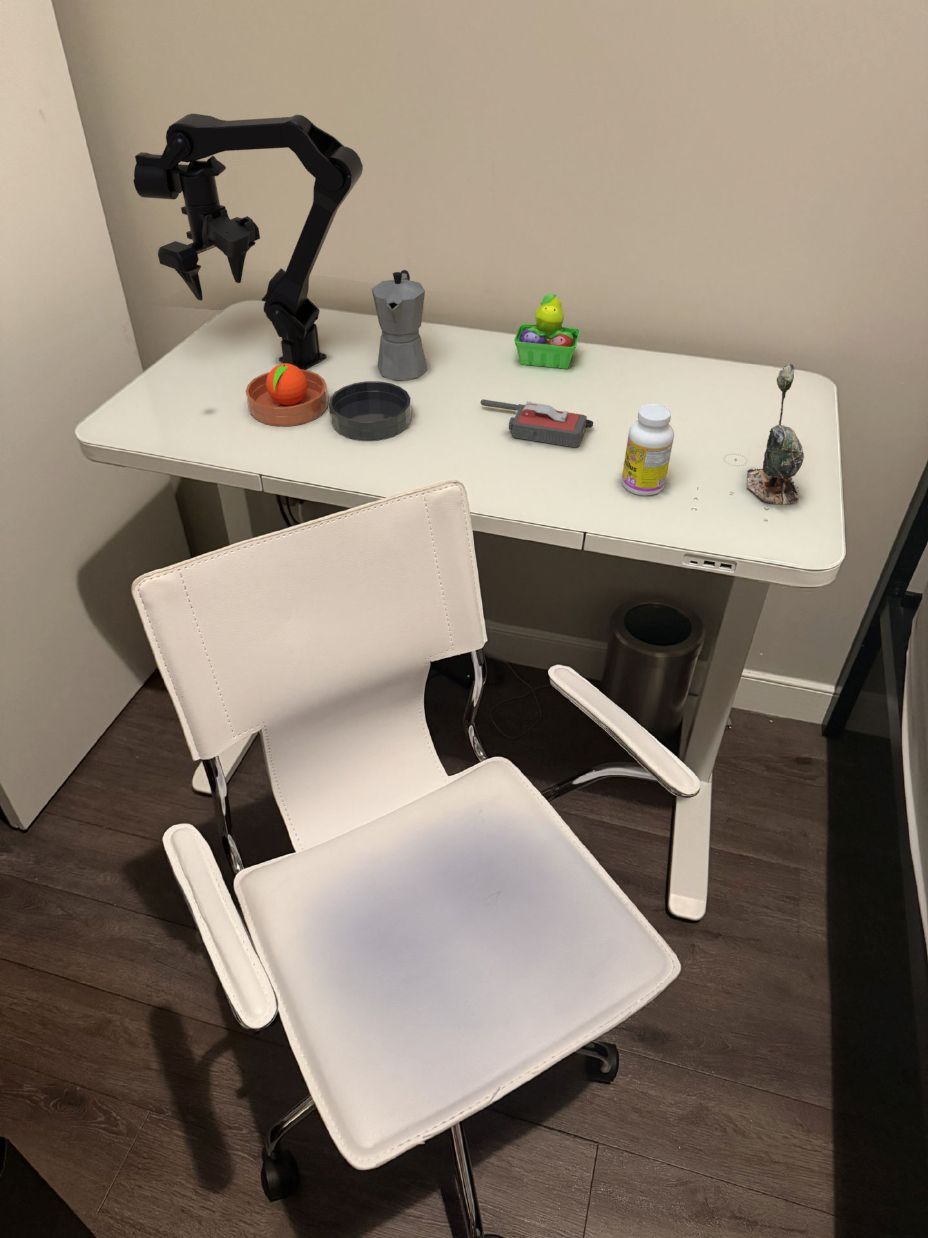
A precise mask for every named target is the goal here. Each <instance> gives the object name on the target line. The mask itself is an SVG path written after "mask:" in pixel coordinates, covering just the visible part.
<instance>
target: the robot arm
mask: <svg viewBox="0 0 928 1238" xmlns="http://www.w3.org/2000/svg"><path fill="white" fill-rule="evenodd" d="M165 134H166V135H165V140H166V141H165V143H166V144H165V147H164V150H163V152H162V154H156V153H155V154H154V153H149V152H142V151H140V152H139V153H137V154H136V155H134V160H135V166H134V170H133V185H134V188H135V191H136V193H137V195H139V196H140V197H141V198H145V199H158V200H159V199H160V200H176V199H178V197H179V195H180V194H182V196H183V197H182V198H183V201H184V205H183V206H181V207H180V210H181V214H182V215H186V216H187V220H188V221H187V222H188V225H189V230H188V231H186V232H185V235H186V239H189V240H191V241H192V242H191V243H189V244H186V243H183V242H180V241H177V240H175V241H172V242H169V243H166V244H165V245H164V244H163V245H161V246H159V248H158V250H157V256H158V260H159V265H162V266H165V267H167V268H170V269H174V271H175V272H176V273H177V274H178V275H179V277H181V278H182V280H183V281H184V283H185V284H186V286H187V287H188V288H189V290H190V292H192V294H193V296H194V297H195V298H196V300H198V301H203V299H204V298H203V289H202V285H201V281H200V275H199V272H200V270H201V268H202V265H200V264H198V262H199V260H200V259H199V255H200V254H202V253H204V252H207V251H209V250H211V249H212V250H213V249H214V248H217V249H218V250H219V251H221V253H223V255H224V256H225V257H226V258H227V262H228V265H229V268H230V271H231V275H232V277H233V279H234V282H235V283H237V284H241V283H242V278H243V272H244V266H245V261H246V257H247V253H248V252H249V250H250V249H251V248H252V247H254V246H255V245H256V242H257V241H258V240H260V239H261V233H260V228H259V226H258V225H257V223H256V222H255V221H254V220H253V219H252V218H251V217H250V216H248V215H247V216H243V217H240V216H239V217H238V216H235V217H233V218H230V216H229V213H228V209H227V207H226V205H222V204H221V203H220V197H219V192H218V186H217V180H216V177H219V176H220V175H221V174H222V173H223V172H224V171H226V169H227V166H226V165H225V164H224V163H223V162H221V161H219V160H218V159H217V158H216V156H214V155H216V154H221V153H223V152H231V151H233V152H234V151H251V150H269V149H286V148H287V149H289V150H290V151H291V152H293V153H294V154H295V155H296V158H298V160H299V161H300V163H301V164H302V166H303V167H304V169H305V170H306V171H307V172H308V173H309V174H310V175H311V176H312V177H313V178H314V183H313V191H312V193H313V194H312V195H313V198H312V204H311V206H310V207H311V208H310V210H309V212H308V215H307V217H306V220H305V222H304V225H303V227H302V230H301V232H300V234H299V237H298V238H297V239H298V240H297V242H296V245H295V247H294V249H293V252H292V255H291V257H290V260H289V262H288V264H287V267H286V269H283V268H279V270H278V271H277V272H276V273H275V274H274V275H273V276H272V278H270V280H269V282H268V283H267V284H268V285H267V290H266V293H265V295H264V296H263V297H262V298H261V302H264V303H263V313H265V316H266V318H267V319H268V320H269V322H271V324H272V326H273V328H274V330H275V332H276V334H277V336H278V337H279V338H281V341H280V346H281V353H282V355H281V356H280V357H279V358H278V361H279V362H281V363H282V364H283V363H288V364H292V365H294V366H296V367H298V368H299V369H302V370H308V369H309V368H310V367H312V366H314V365H316V364H318V363H320V362H321V361H323V360H325V359H326V358H327V354H326V353H323V352H321V349H320V343H319V342H320V341H319V334H318V326H317V323H315V322H316V321H318V319H319V317H320V316H319V315H320V311H321V310H320V308H319V307H318V306H317V305H316V304H315V303H314V302H313V301H311V300H310V299H309V298H308V295H309V289H310V276H311V273H312V271H313V269H314V266H315V264H316V262H317V259H318V257H319V255H320V253H321V250H322V248H323V246H324V243H325V241H326V238H327V236H328V234H329V231H330V229H331V226H332V224H333V222H334V219H335V217H336V214H337V212H338V210H339V208H340V207H341V205H342V204H343V203H344V201H345V200H346V199H347V197H348V196H349V194H350V193H351V192H352V190H353V188H354V187H355V186H356V184H357V183H358V181H359V180H360V179H361V176H362V175H363V171H364V170H363V169H364V165H363V162H362V160H361V157H360V155H359V154H358V153H357V152H356V151H355V150H354V149H353V148H350V147H348V146H345V145H344V144H343V143H341V141H339V140H338V138H336V137H335V136H333V135H332V134H330V133H328V132H326V131H325V130H323V129H322V128H320V127H318V126H317V125H315V123H313V122H312V121H311V120H310V119H308V117H306V116H304V115H303V114H294V115H292V116H283V117H267V118H266V117H265V118H250V119H235V120H225V119H219V118H217V117H215V116H212V115H206V114H198V113H187V114H186V115H184V116H182V117H181V118H180V119H178V120H177V121H175V122H174V123H172V124H171V125H169V126H168V128H167V130H166V133H165ZM206 158H208V159H207V160H203V159H206ZM182 163H188V164H182Z"/></svg>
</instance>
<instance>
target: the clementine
mask: <svg viewBox="0 0 928 1238" xmlns="http://www.w3.org/2000/svg"><path fill="white" fill-rule="evenodd" d="M269 372H270V373H269V374H268V376H267V380H266V387H267V390H268V393H269V395H270V396H271V398H272V399H274V400H275V401H276V402H277V403H280V404H283V405H293V404H296V403H298V402H299V401H301V400H302V398H303V397H304V396H305V394H306V391H307V380H306V377H305V375H304V373H303V372H302V371H301V370H300V369H299V368H298V367H296V366H294V365H292V364H288V363H283V362H282V363H279V364H277V365H275V366H274V367H272V368H271V370H270V371H269Z"/></svg>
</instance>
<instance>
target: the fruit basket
mask: <svg viewBox="0 0 928 1238" xmlns="http://www.w3.org/2000/svg"><path fill="white" fill-rule="evenodd" d="M562 307H563V304H562V301H561V299H559V298H558V297H557V294H550V293H548V294H545V295H544V296H543V298H542V301H541V302H540V303H539V307H538V308H537V309H536V310H535V313H534V318H535V324H530V323H525V324H524V323H523V324H521V325H519V327H518V329H517V332H516V334H515V337H514V345H515V347H516V351H517V355H518V359H519V363H520V365H522V366H523V365H525V366H535V367H546V368H555V369H556V368H558V369H564V370H568V369H569V366H570V364H571V360H572V358H573V354H574V351H575V350H576V348H577V345H578V342H579V341H578V340H579V337H580V334H581V330H580V329H579V328H574V327H567V326H565V327H564V326H563V323H564V319H565V316H564V312H563V308H562Z"/></svg>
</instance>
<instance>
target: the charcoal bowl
mask: <svg viewBox="0 0 928 1238" xmlns="http://www.w3.org/2000/svg"><path fill="white" fill-rule="evenodd" d="M411 400H412V398H411V396H410V394H409V393H408V391H407V390H406V389H404V388H402V386H399V385H397V384H394V383H392V382H386V381H381V380H367V381H360V382H359V381H358V382H354V383H350V384H347V385H345V386H343V387H340V388H339V389H338V390H336V391H334V393H333V394H332V395H331V396H330V397H329V399H328V411H329V420H330V424H331V425H332V427H333V429H334V430H335V431H336V432H337V433H338V434H340V435H341V436H343V437H345V438H349V439H352V440H355V441H363V442H364V441H365V442H368V441H369V442H373V441H381V440H386V439H390V438H393V437H395V436H397V435H399V434H401V433H402V432H404V431H405V430H406V429H407V428H408V426H409V425H410V422H411V421H412V402H411Z"/></svg>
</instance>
